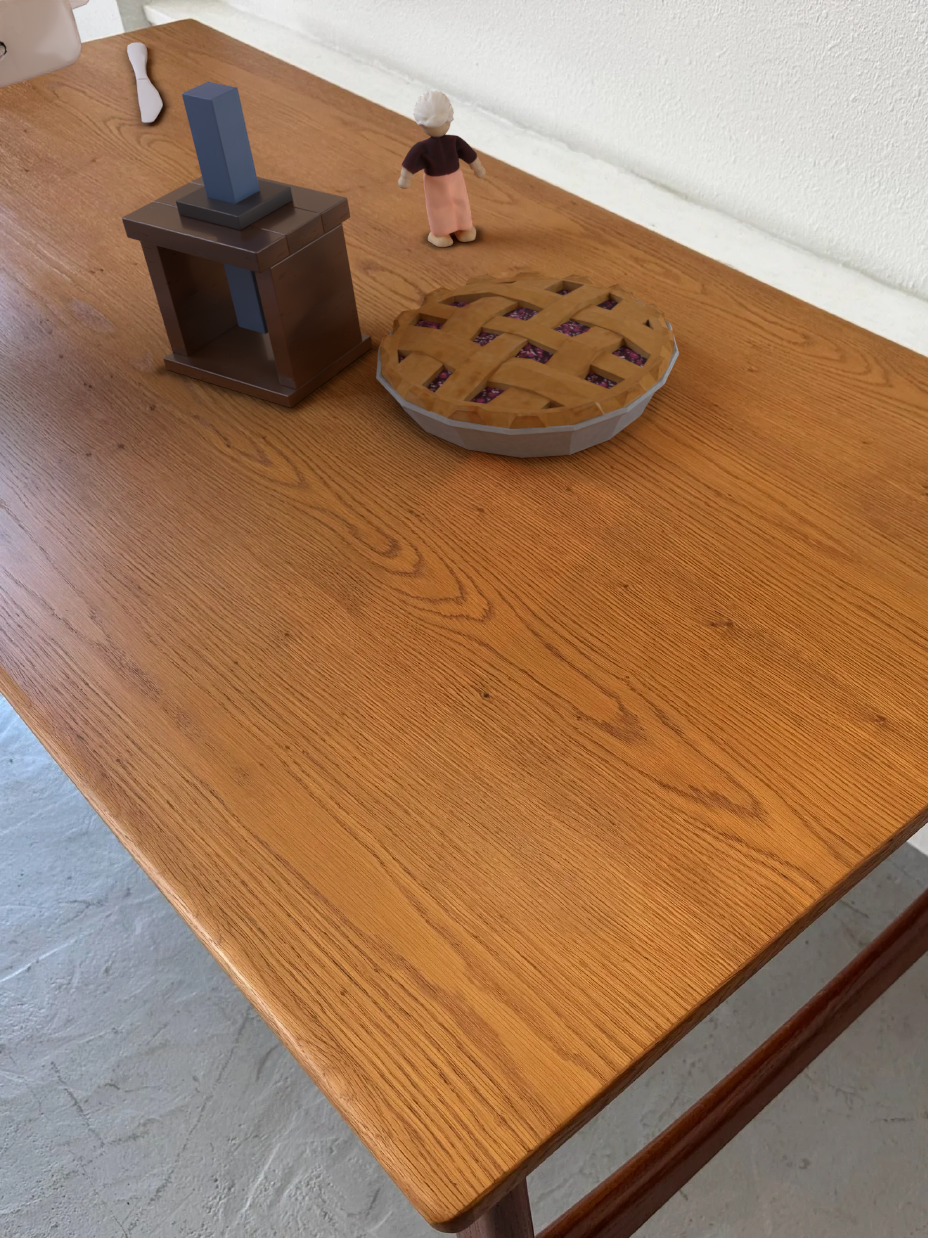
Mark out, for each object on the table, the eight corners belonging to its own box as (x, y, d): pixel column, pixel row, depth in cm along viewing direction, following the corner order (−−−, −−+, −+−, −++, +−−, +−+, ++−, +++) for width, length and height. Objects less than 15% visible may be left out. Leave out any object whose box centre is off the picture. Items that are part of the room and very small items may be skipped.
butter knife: (152, 39, 150) (125, 40, 149) (165, 120, 131) (135, 122, 130) (153, 44, 150) (126, 46, 149) (166, 126, 131) (136, 128, 131)
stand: (290, 408, 91) (255, 252, 82) (166, 369, 95) (120, 217, 86) (372, 347, 97) (347, 197, 89) (252, 313, 101) (218, 166, 93)
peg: (268, 348, 91) (213, 110, 79) (209, 331, 93) (147, 96, 81) (316, 315, 95) (270, 83, 83) (258, 299, 96) (206, 70, 85)
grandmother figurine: (473, 220, 114) (459, 76, 105) (495, 235, 112) (482, 89, 103) (399, 242, 111) (378, 95, 102) (420, 258, 108) (400, 109, 100)
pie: (595, 502, 82) (593, 439, 79) (323, 426, 89) (310, 364, 85) (721, 351, 97) (724, 292, 93) (479, 295, 103) (473, 238, 100)
